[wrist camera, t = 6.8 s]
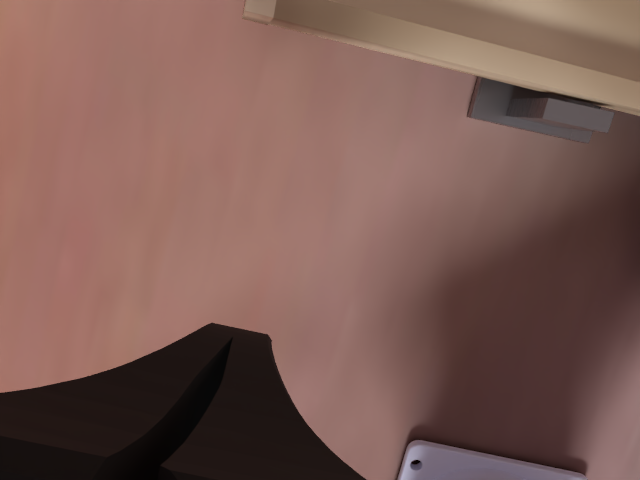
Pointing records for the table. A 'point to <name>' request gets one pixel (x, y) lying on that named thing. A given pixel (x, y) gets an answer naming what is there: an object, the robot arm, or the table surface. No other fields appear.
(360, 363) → the table surface
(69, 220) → the table surface
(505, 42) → the lever
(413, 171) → the table surface
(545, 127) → the pivot
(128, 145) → the table surface
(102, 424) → the robot arm
